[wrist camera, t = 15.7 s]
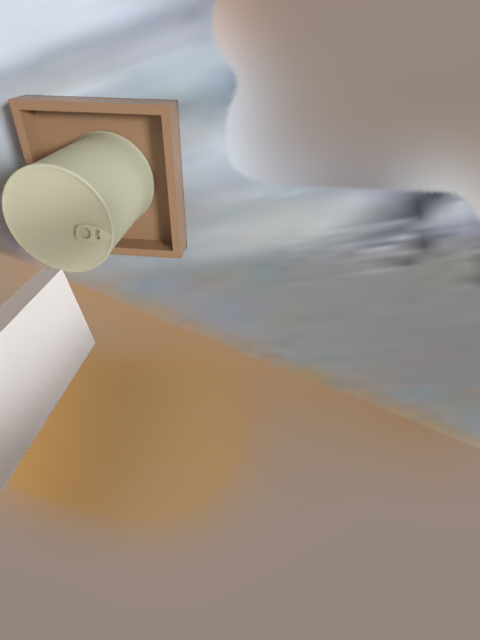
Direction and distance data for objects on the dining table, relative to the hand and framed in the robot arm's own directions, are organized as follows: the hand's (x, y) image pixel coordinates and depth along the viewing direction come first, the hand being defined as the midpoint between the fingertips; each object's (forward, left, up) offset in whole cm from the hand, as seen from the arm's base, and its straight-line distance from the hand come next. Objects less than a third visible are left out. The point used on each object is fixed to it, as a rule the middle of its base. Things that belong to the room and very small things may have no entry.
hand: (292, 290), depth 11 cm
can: (+7, -18, -31) cm, 37 cm away
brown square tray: (+7, -18, -32) cm, 37 cm away
